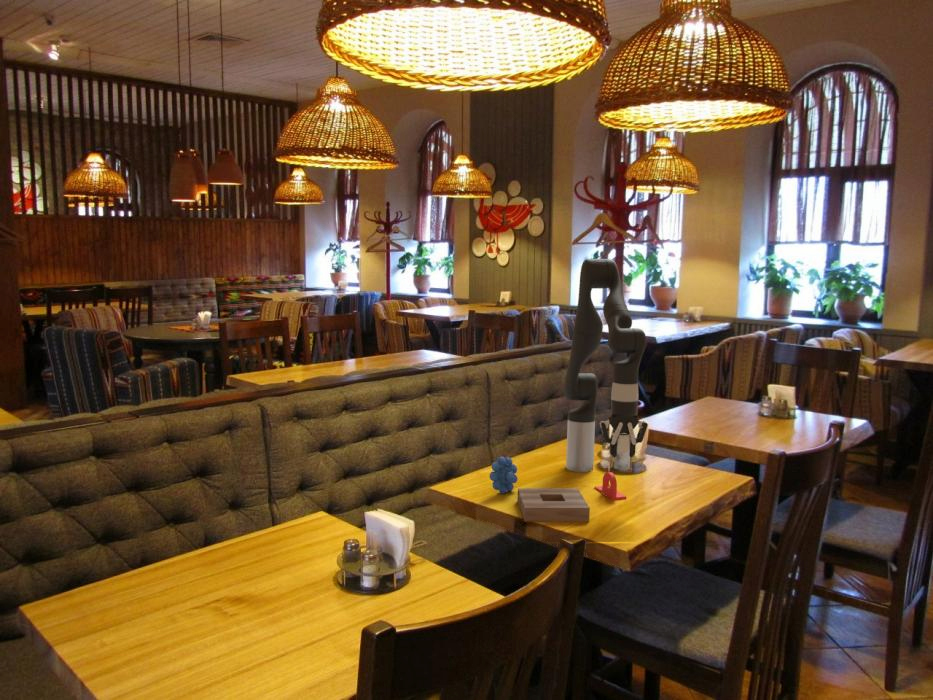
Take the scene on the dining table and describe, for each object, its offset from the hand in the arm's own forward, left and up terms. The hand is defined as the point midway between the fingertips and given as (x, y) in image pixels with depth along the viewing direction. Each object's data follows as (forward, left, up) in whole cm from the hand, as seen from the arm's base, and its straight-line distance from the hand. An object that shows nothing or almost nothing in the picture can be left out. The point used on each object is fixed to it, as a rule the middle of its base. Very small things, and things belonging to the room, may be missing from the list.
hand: (622, 456), depth 223 cm
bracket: (-15, 0, -16) cm, 22 cm away
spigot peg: (0, 0, -3) cm, 3 cm away
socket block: (+1, -20, -16) cm, 26 cm away
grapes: (-15, -32, -16) cm, 39 cm away
